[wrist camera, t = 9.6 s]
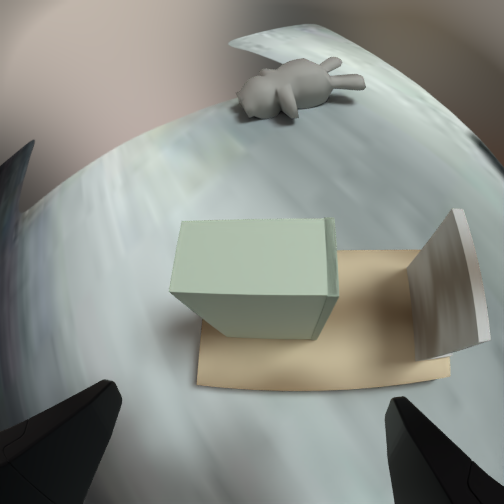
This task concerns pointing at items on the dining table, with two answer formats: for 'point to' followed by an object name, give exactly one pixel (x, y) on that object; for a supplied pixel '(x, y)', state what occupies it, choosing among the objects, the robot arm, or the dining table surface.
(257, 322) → the sage book
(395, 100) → the dining table surface
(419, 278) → the tan board with upright
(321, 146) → the dining table surface
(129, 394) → the dining table surface
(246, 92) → the bunny figurine
